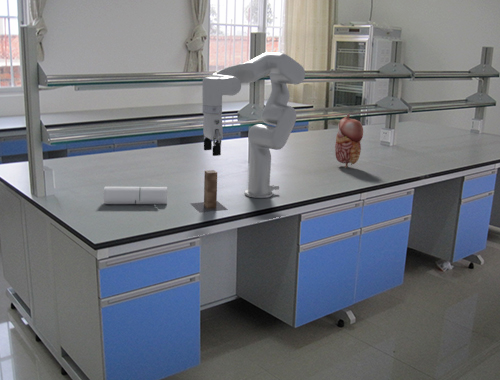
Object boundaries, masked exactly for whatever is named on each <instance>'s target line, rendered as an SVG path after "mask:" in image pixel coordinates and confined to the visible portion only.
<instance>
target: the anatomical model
mask: <svg viewBox="0 0 500 380" xmlns="http://www.w3.org/2000/svg"><path fill="white" fill-rule="evenodd" d="M350 116H351V115H350V113H347V114H346V116H344V117H343V118H341V119H340V120H339V121H338V126H337V127H338V128H337V129H338V130H337V134H336V138H335V139H336V140H335V144H334V145H335V146H334V148H335V149H334V150H335V151H334V154H335V158H336V160H337V161H338V163H340V164H345V166H344V168H348V166H349V164H350V165H351V166H352V165H355V164H356V163H357V162H358V160H359V159H360V156H361V150H362V143H361V141H362V139H363V136H364V127H363V123H361V121H360V120H358V119H355V118H350Z"/></svg>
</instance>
